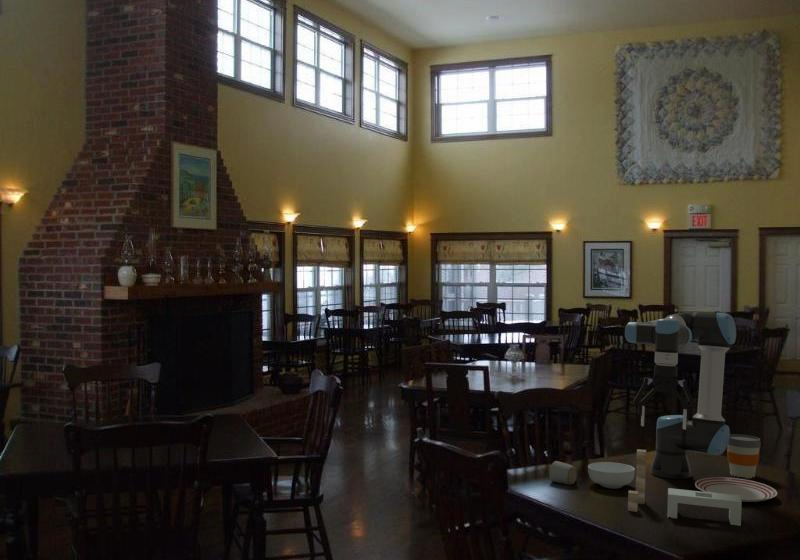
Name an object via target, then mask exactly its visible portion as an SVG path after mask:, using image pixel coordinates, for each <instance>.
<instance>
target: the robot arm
mask: <svg viewBox="0 0 800 560" xmlns="http://www.w3.org/2000/svg"><path fill="white" fill-rule="evenodd" d="M624 337H625V340H626V341H627V342H628V343H632V344H643V345H655V346H654V360H653V361H654V363H655V364H654V365H653V367H654V368H653V377H652V378H649V377H646V376H645V377H644V378H643V383H642V385H641V386H640V389H639V390H638V392H637V394H636V395H635V397H634V399H633V400H632V402H633V404H634V405H636V406H638V408H637V409H638V410H637V414H638V415H637V416H640V418H641V419H640V426H641V427H645V408H646V407H645V404H646V403H647V402H648V401H649V400H650V399H651V398H652V397H653V396H654V395H655V394H656V393H657V392H660V393H669V394H670V393H673V394H674V395H675V396H676V397H677V399H678V400H679V401H680V403H681V404H682V405H683V406H684V407H685V408H683V410H682V411H683V413H682V414H671V415H663V416H659V417H658V418H657V420H656V428H655V430H656V432H655V436H656V437H655V455H654V456H653V460H652V463H651V465H650V473H651V475H652V476H656V477H659V478H662V479H663V478H665V479H671V480H672V479H673V480H684V479H685V480H687V479H690V478H691V477H692V469H691V466H690V462H689V459H688V452H694V453H700V454H707V455H709V456H710V455H714V456H721V455H722V454H723V453H725V451H726V450H727V448H728V446H727V445H728V441H729V437H730V435H731V432H730V427H729V425H727V424H726V423H725V422H726V419H725V418H724V417H723V416H722V406H723V394H724V393H723V391H724V378H725V377H724V376H725V365H726V363H725V360H726V353H727V352H728V351H729V350H730V349H731V345H733V344H735V342H736V341H737V340H736V339H737V327H736V322H735V318H733V316H732V315H731V314H730V313H724V312H721V311H720V312H713V311H712V312H709V311H694V310H693V311H683V312H678V313H677V312H676V313H674V314H669V315H667V316H666V317H665V318H659V319H658V318H657V319H656V320H648V321H644V322H638V321H629V322H628V323H627V324H626V325H625V328H624ZM691 342H697V347H698V348H699V349H700V351H701V352H700V370H699V384H698V399H697V405H696V403H695V401H694V399H693V396H692V394H691V393H690V390H689V388H688V382H687V380H685V379H683V380H678V363H679V357H678V356H679V347H680V348H681V347H685V346H687V345H688V344H690V343H691ZM651 383H652V384H653V386H654V387H652V388H651V390H650V391H649V392H648V393H647V394H646V395H645V396H643V394H644V392H645V391H646V389H647V387H648V385H650V384H651ZM678 385H679V386H680V387H682V389H683V391H684V393H685V395H686V398H687V400H688V402H689V404H688V403H687V401H686V400H685V399H684V398H683V397H682V395H681V394H680V392H678V390H677V389H676V387H678ZM642 396H643V398H642ZM641 398H642V399H641ZM640 399H641V400H640ZM639 400H640V401H639ZM696 408H697V409H696ZM693 409H696V410H697V411H696V413H695V414H694V415H693V416H692V420H691V410H693Z"/></svg>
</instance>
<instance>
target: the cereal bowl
mask: <svg viewBox="0 0 800 560" xmlns="http://www.w3.org/2000/svg"><path fill="white" fill-rule="evenodd" d="M587 473H588V476H589V478H590V480H592V481H593V482H594V483H596V484H598V485H600V487H603V488H606V489H621V488H623V486H627V485H629V484H631V483H632V482H633V481H634V478H635V477H636V467H634V466H632V465H630V464H625V463H620V462H611V461H599V462H592V463H590V464H588V465H587Z"/></svg>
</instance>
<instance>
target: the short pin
mask: <svg viewBox="0 0 800 560" xmlns="http://www.w3.org/2000/svg"><path fill="white" fill-rule="evenodd" d="M627 494H628V495H627V511H629V512H636V513H638V509H639V508H638V507H639V504H638V491H636V490H628V493H627Z"/></svg>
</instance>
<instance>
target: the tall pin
mask: <svg viewBox="0 0 800 560" xmlns="http://www.w3.org/2000/svg"><path fill="white" fill-rule="evenodd" d="M635 465H636V467H635V491H638V505H645V503H646V502H645V501H646V499H645V498H646V469H647V468H646V466H647V449H639V448H638V449H636V464H635Z"/></svg>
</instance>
